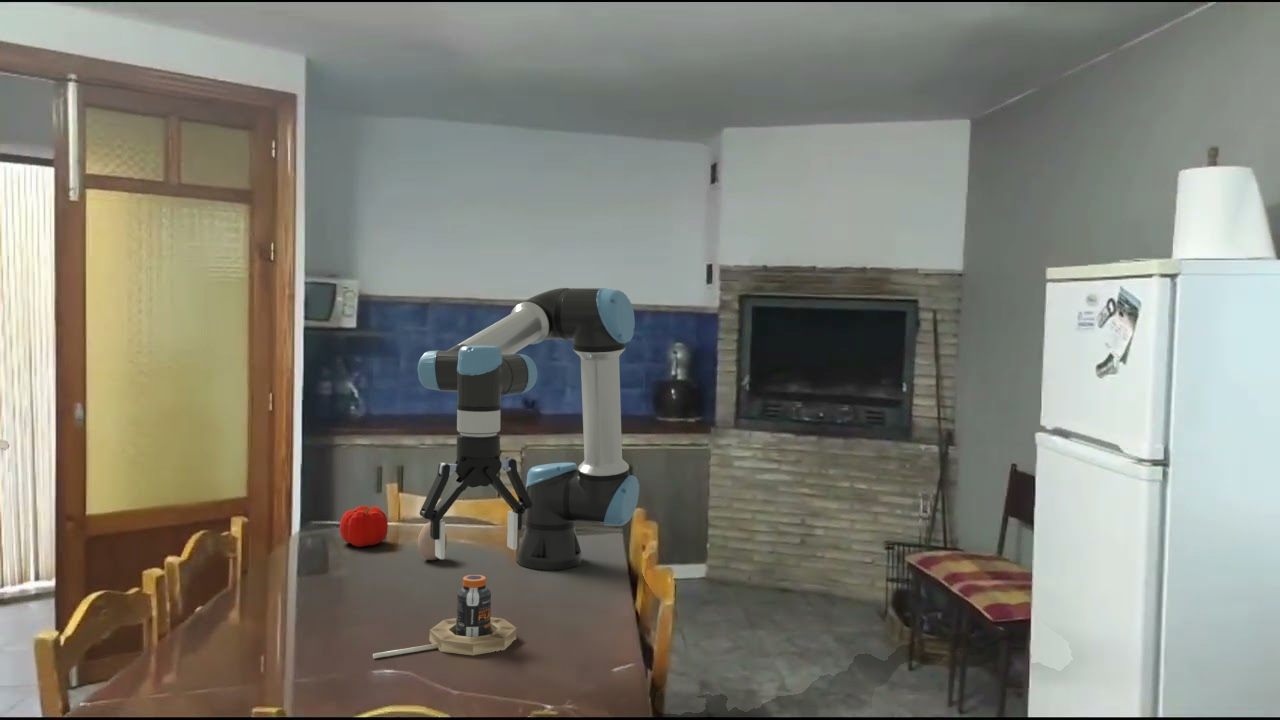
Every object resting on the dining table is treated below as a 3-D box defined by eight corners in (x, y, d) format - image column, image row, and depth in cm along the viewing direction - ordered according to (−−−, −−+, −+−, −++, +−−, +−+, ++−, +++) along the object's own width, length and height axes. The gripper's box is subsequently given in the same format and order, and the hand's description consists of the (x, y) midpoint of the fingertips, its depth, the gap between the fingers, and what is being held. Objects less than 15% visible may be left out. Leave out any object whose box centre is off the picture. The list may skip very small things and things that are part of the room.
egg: (451, 561, 218) (452, 522, 218) (423, 565, 215) (424, 525, 214) (440, 555, 224) (440, 517, 223) (413, 558, 220) (414, 519, 220)
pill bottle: (482, 647, 163) (483, 583, 162) (450, 644, 164) (451, 580, 163) (494, 636, 169) (496, 574, 168) (463, 632, 170) (465, 571, 169)
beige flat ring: (494, 622, 176) (494, 612, 176) (526, 646, 164) (526, 635, 164) (421, 634, 168) (421, 623, 168) (449, 659, 157) (449, 647, 156)
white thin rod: (436, 647, 162) (436, 642, 162) (438, 648, 161) (438, 644, 161) (372, 657, 156) (372, 653, 156) (374, 659, 155) (374, 654, 155)
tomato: (350, 538, 238) (351, 502, 237) (395, 541, 236) (396, 505, 236) (330, 548, 227) (331, 511, 227) (378, 551, 225) (378, 514, 225)
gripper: (533, 427, 174) (531, 539, 176) (402, 434, 161) (400, 556, 162) (551, 432, 168) (549, 549, 169) (416, 440, 155) (415, 566, 156)
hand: (476, 552), depth 166 cm, fingers open, 13 cm apart
